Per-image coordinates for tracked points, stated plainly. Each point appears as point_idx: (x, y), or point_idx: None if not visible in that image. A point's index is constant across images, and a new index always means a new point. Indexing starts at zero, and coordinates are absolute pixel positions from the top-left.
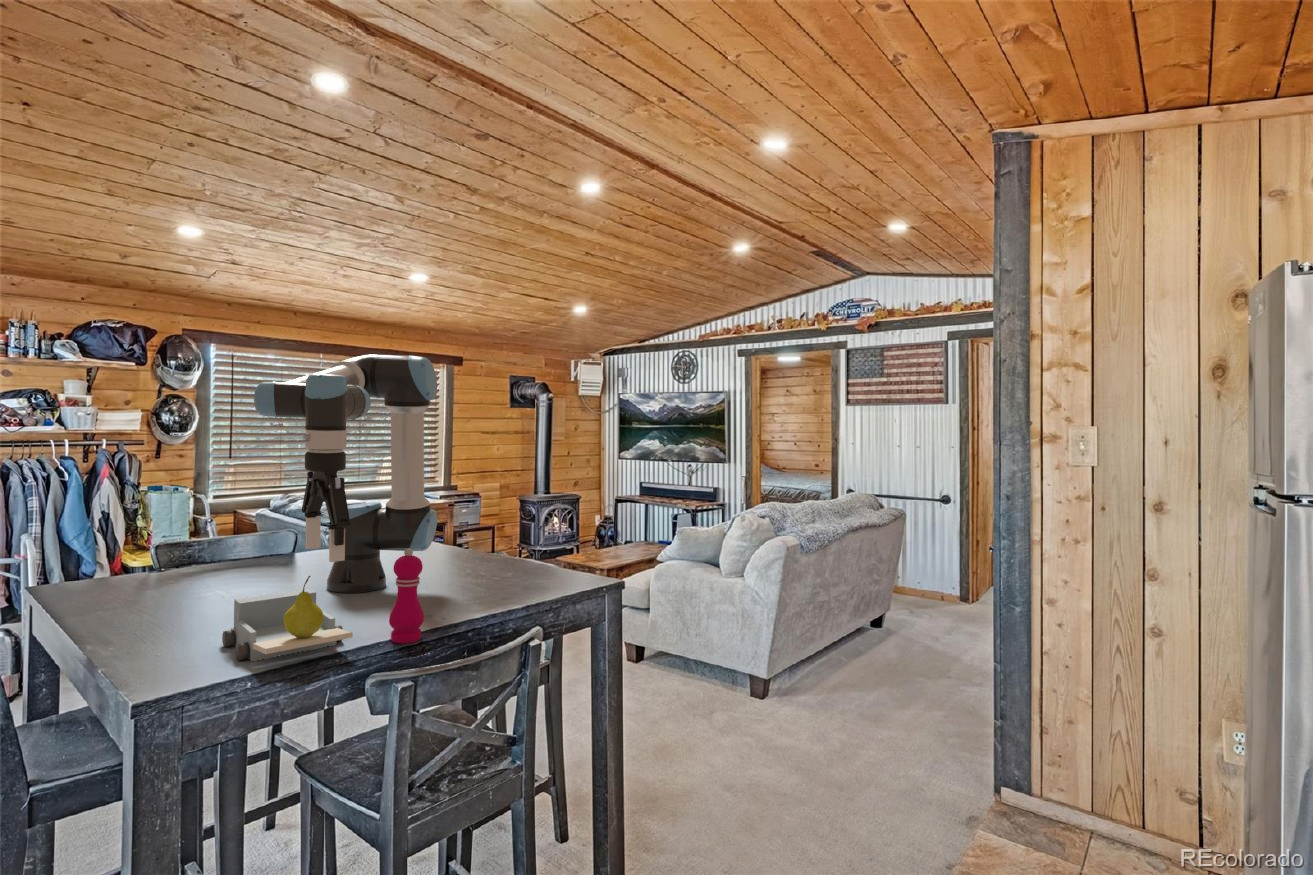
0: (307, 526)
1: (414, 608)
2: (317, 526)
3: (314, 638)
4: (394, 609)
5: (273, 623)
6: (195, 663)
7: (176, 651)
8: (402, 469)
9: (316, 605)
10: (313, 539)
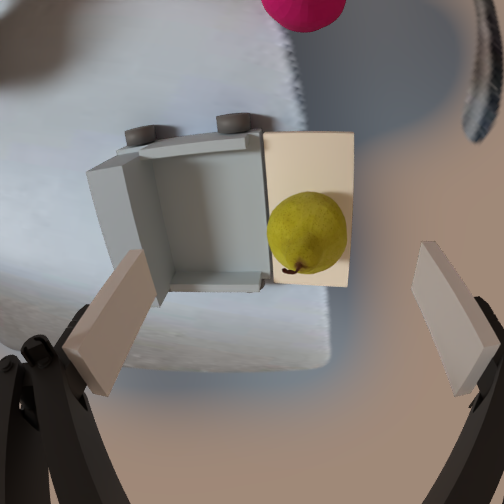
0: (121, 363)
1: None
2: (105, 325)
3: (341, 207)
4: (311, 16)
5: (162, 228)
6: (234, 315)
7: (171, 319)
8: None
9: (318, 222)
10: (136, 297)
